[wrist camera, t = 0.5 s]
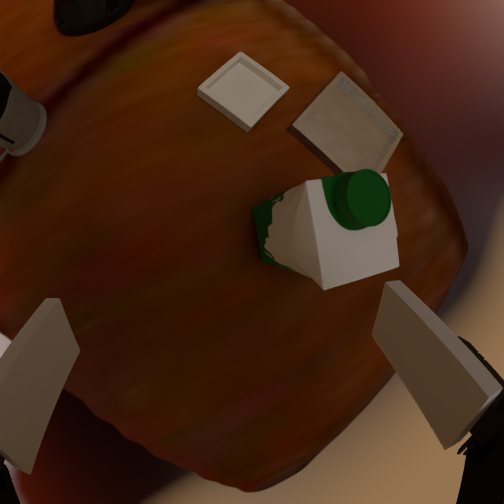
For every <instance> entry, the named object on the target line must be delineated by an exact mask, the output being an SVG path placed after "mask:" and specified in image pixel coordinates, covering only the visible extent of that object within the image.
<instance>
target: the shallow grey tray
mask: <svg viewBox="0 0 504 504" xmlns="http://www.w3.org/2000/svg"><path fill="white" fill-rule="evenodd" d="M287 130H288V131H289V132H290V133H291V134H292V135H294V136H295V137H296V138H297V139H298V140H299V141H300V142H302V143H303V144H304V145H305V146H306V147H307V148H308V149H310V150H311V151H312V152H313V153H314V154H315V155H316V156H317V157H318V158H319V159H321V160H322V161H323V162H324V163H325V164H326V165H327V166H328V167H329V168H330V169H331V170H332V171H333V172H334V173H335V174H339V173H343V172H355V171H358V170H361V169H371V170H374V171H376V172H377V173H381V172H382V170H383V169H384V167H385V165H386V164H387V162H388V160H389V159H390V157H391V155H392V153H393V152H394V150H395V148H396V146H397V145H398V143H399V141H400V139H401V137H402V136H403V133H402V132H401V131H400V130H399V128H398V127H397V126H396V125H395V124H394V123H393V122H392V121H391V119H390V118H389V117H388V116H387V115H386V114H385V113H384V112H383V111H382V110H381V109H380V108H379V107H378V106H377V105H376V104H375V102H374V101H373V100H372V99H371V98H370V97H369V96H368V95H367V94H366V93H364V92H363V91H362V90H361V89H360V88H359V87H358V86H357V85H356V84H355V83H354V82H353V81H352V80H351V79H350V78H349V77H347V76H346V75H345V74H344V73H343V72H342V71H341V72H340V73H339V74H338V75H337V76H336V77H335V78H334V79H333V80H332V81H331V82H330V83H329V84H328V85H327V86H326V87H325V88H324V89H323V90H322V92H321V93H320V94H319V95H318V96H317V97H316V98H315V99H314V100H313V101H312V102H311V103H310V105H309V106H308V107H307V108H306V109H305V110H304V111H303V112H302V113H301V115H300V116H299V117H298V118H297V119H296V120H295V121H294V122H293V124H292V125H291V126H290V127H289V128H288V129H287Z"/></svg>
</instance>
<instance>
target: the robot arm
mask: <svg viewBox="0 0 504 504" xmlns="http://www.w3.org/2000/svg"><path fill="white" fill-rule="evenodd" d="M134 1H135V0H54V11H53V19H54V23H55V25H56V27H57V29H58V31H59V32H60V33H62V34H64V35H68V36H78V35H84V34H88V33H91V32H94V31H97V30H99V29H101V28H103V27H105V26H107V25H109V24H111V23H113V22H114V21H116V20H117V19H119V18H120V17H121V16H123V15H124V14H125V13H126V12H127V11H128V10H129V9H130V8H131V6H132V5H133V3H134ZM372 337H373V338H374V340H375V341H376V342H377V344H378V345H379V347H380V348H381V350H382V351H383V353H384V354H385V356H386V357H387V359H388V360H389V362H390V363H391V365H392V366H393V368H394V369H395V371H396V372H397V374H398V375H399V376H400V378H401V380H402V381H403V383H404V384H405V386H406V387H407V389H408V391H409V392H410V393H411V395H412V397H413V398H414V400H415V402H416V403H417V405H418V406H419V408H420V410H421V411H422V413H423V414H424V416H425V418H426V419H427V421H428V423H429V424H430V426H431V428H432V429H433V431H434V433H435V434H436V436H437V438H438V439H439V441H440V443H441V444H442V446H443V448H444V450H446V449H447V448H449V447H451V446H453V445H455V444H456V443H458V442H459V441H461V440H462V439H463V437H464V436H465V435H466V434H467V433H468V432H469V431H470V433H471V434H472V436H471V437H470V438H469V439H468V440H467V441H466V442H465V443H464V444H463V445H462V446H461V447H460V448H459V450H458V453H457V454H460V453H461V452H462V451H463V450H464V449H465V448H466V447H467V450H466V451H465V452H464V453H463V455H466V460H465V466H464V471H463V476H462V481H461V486H460V490H459V494H458V498H457V502H456V504H504V380H503V379H502V378H501V377H500V376H499V374H498V373H497V372H496V371H495V370H494V369H493V368H492V366H491V365H490V364H489V363H488V362H487V361H486V360H484V357H483V356H482V355H481V354H478V351H477V350H476V349H475V348H474V347H473V346H472V345H471V343H469V342H468V341H466V340H464V339H463V338H461V337H460V336H458V337H457V336H456V335H455V334H454V333H453V332H452V331H451V330H450V329H449V328H448V326H446V325H445V324H444V322H443V321H441V319H440V318H439V317H438V316H437V315H436V314H435V313H434V312H433V311H432V310H430V309H429V308H428V307H427V306H426V305H425V304H424V303H423V302H422V301H421V300H420V299H419V298H418V297H417V296H416V295H415V294H414V293H413V292H412V291H411V290H410V289H408V288H407V287H406V286H405V285H404V284H403V283H402V282H401V281H400V280H398V281H390V282H385V285H384V289H383V293H382V298H381V302H380V306H379V310H378V313H377V317H376V321H375V325H374V328H373V332H372ZM79 352H80V349H79V347H78V344H77V342H76V340H75V337H74V335H73V333H72V330H71V328H70V325H69V323H68V320H67V317H66V315H65V312H64V309H63V306H62V304H61V301H60V299H59V298H46V299H45V300H44V301H43V303H42V304H41V305H40V306H39V307H38V309H37V310H36V311H35V312H34V314H33V315H32V316H31V317H30V319H29V320H28V321H27V322H26V324H25V325H24V326H23V328H22V329H21V330H20V332H19V333H18V334H17V336H16V337H15V338H14V340H13V341H12V342H11V344H10V345H9V347H8V348H7V349H6V351H5V352H4V354H3V355H2V357H1V358H0V504H20V501H19V499H18V496H17V494H16V492H15V488H14V485H13V483H12V479H11V476H10V473H9V470H8V468H7V466H6V465H5V464H4V460H5V459H6V460H7V461H8V462H9V463H10V464H11V465H13V466H14V467H15V468H17V469H19V470H21V471H23V472H26V473H28V474H31V471H32V468H33V465H34V462H35V458H36V455H37V452H38V449H39V446H40V444H41V441H42V438H43V435H44V432H45V430H46V427H47V424H48V422H49V419H50V417H51V414H52V412H53V409H54V407H55V404H56V402H57V400H58V397H59V395H60V393H61V390H62V388H63V386H64V384H65V382H66V379H67V377H68V375H69V373H70V371H71V369H72V367H73V365H74V362H75V360H76V358H77V356H78V354H79Z"/></svg>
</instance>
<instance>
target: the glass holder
mask: <svg viewBox="0 0 504 504" xmlns="http://www.w3.org/2000/svg"><path fill="white" fill-rule="evenodd" d="M46 122H47V113H46V110H45V108H44V106H43V105H41V104H39V103H36V102H34V101H33V100H32V99H30V98H29V97H28V96H27V95H26V94H25V93H24V92H23V91H22V90H21V89H20V88H19V87H18V86H17V85H16V84H14V83H13V82H12V81H11V80H10V79H9V78H8V77H7V76H6V75H5V74H4V73H3V72H1V71H0V146H1V147H3V148H5V149H6V151H5V152H4V153H3V154H2V155H1V156H0V162H1V161H2V160H3V158H4V157H5V156H6V155H7V154H8V153H9V154H11V155H13V156H21V155H23V154H25V153H27V152H29V151H30V150H31V149H32V148H33V147H34V146H35V145H36V144H37V143H38V141H39V140H40V138H41V136H42V134H43V132H44V130H45V127H46Z"/></svg>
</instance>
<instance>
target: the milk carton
mask: <svg viewBox="0 0 504 504" xmlns="http://www.w3.org/2000/svg"><path fill="white" fill-rule="evenodd" d="M252 210H253V216H254V221H255V226H256V232H257V237H258V242H259V248H260V253H261V258H262V262H265V263H268V264H272V265H275V266H278V267H281V268H285V269H288V270H291V271H294V272H297V273H299V274H302V275H305V276H308V277H311V278H312V279H313V280H314V281H315V282H316V283H317V284H318V285H319V286H320V287H321V288H322V289H323V290H326V289H329V288H333V287H336V286H340V285H343V284H346V283H349V282H353V281H356V280H359V279H362V278H366V277H369V276H372V275H375V274H378V273H381V272H384V271H387V270H390V269H393V268H396V267H399V259H398V249H397V240H396V237H397V227H396V223H395V218H394V212H393V206H392V200H391V193H390V189H389V185H388V180H387V176H386V174H385V173H377V172H376V171H374V170H371V169H361V170H358V171H355V172H343V173H339V174H336V175H334V176H330V177H321V179H317V180H308V181H305V182H304V183H303V184H301V185H299V186H296V187H294V188H291V189H289V190H287V191H284V192H282V193H280V194H277V195H275V196H273V197H271V198H269V199H268V200H266V201H264V202H262V203H260V204H259V205H257V206H255V207H253V208H252Z"/></svg>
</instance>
